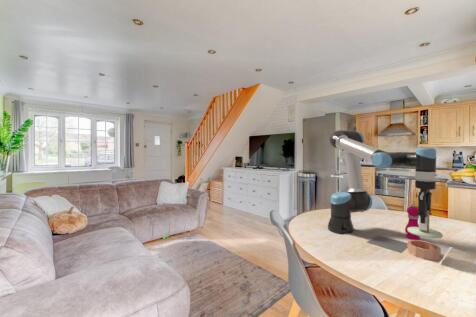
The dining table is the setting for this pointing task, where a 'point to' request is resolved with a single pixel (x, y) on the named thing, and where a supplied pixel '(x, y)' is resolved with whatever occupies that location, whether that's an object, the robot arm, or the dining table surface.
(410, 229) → the plunger
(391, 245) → the mat
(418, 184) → the robot arm
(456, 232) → the dining table surface
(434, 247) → the bowl
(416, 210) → the pepper mill
